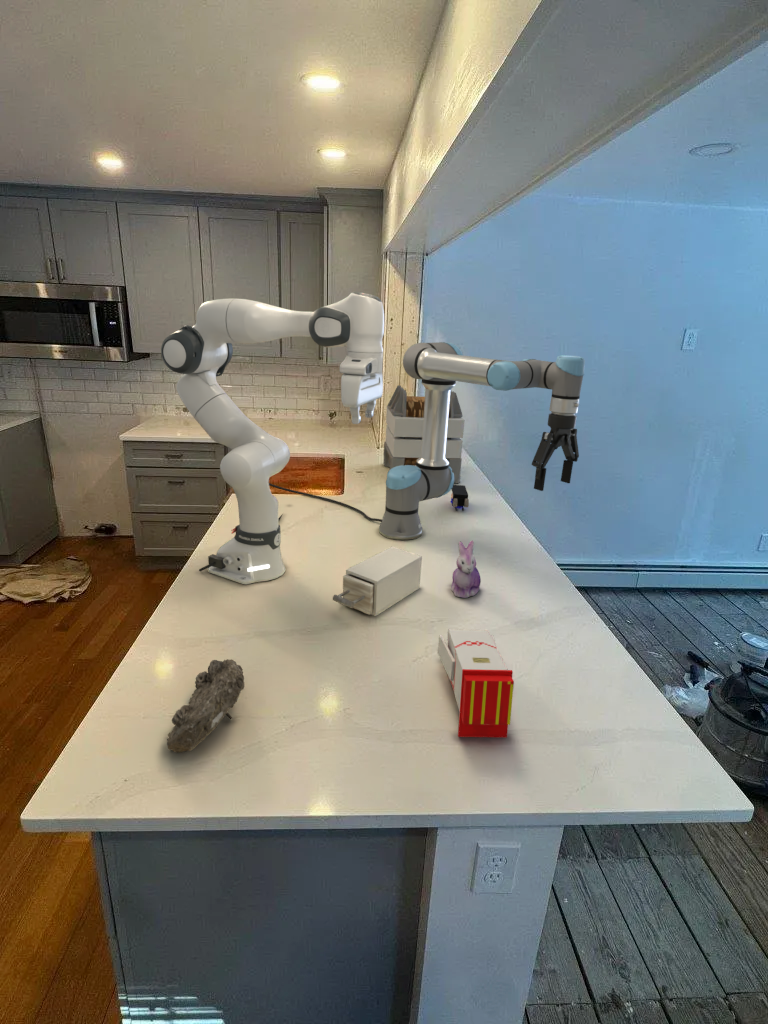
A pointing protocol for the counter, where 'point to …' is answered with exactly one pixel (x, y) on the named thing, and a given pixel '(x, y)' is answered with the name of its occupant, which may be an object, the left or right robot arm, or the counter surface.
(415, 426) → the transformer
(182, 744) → the fossil
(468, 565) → the figurine
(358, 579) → the drawer
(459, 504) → the figurine character
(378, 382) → the left robot arm
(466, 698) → the toy
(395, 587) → the cabinet
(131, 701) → the counter surface
